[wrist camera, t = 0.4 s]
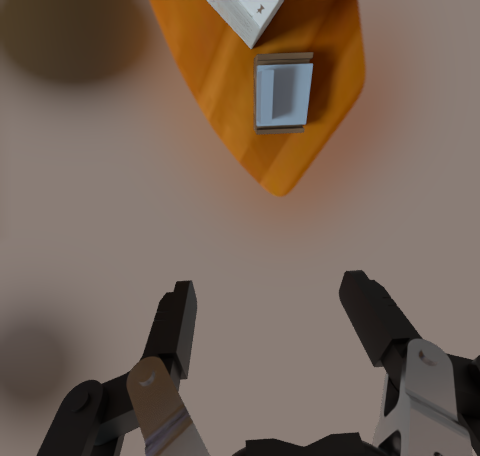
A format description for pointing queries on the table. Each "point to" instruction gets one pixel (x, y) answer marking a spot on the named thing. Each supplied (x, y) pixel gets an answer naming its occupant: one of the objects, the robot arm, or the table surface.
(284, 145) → the table surface
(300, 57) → the case
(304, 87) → the lid
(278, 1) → the small box
